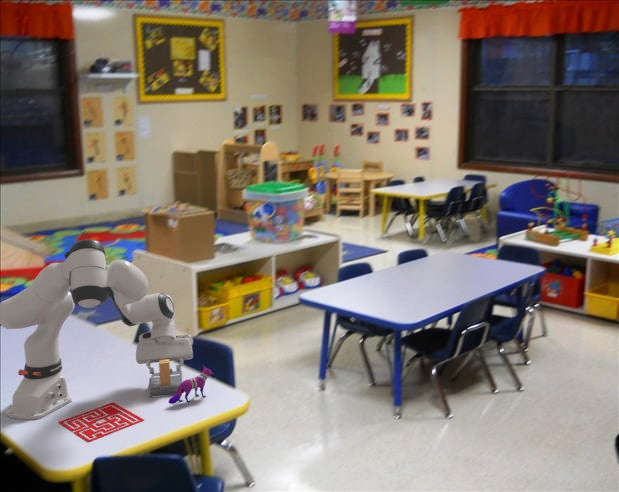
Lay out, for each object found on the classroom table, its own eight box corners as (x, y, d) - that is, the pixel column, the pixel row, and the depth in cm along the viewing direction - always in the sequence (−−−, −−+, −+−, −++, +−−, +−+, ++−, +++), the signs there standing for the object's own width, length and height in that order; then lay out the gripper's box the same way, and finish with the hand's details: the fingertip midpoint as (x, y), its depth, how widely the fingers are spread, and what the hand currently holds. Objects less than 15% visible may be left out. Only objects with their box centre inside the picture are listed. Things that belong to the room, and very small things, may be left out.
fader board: (181, 393, 256) (181, 386, 256) (150, 397, 255) (149, 389, 254) (182, 374, 274) (181, 366, 273) (152, 377, 272) (151, 369, 271)
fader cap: (170, 386, 258) (168, 362, 256) (160, 387, 258) (158, 363, 256) (171, 382, 262) (169, 358, 260) (161, 383, 261) (159, 359, 259)
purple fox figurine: (216, 393, 256) (215, 366, 254) (171, 409, 245) (169, 380, 242) (211, 390, 259) (209, 363, 256) (166, 405, 247) (164, 377, 245)
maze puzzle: (58, 423, 237) (58, 421, 237) (113, 403, 251) (113, 402, 251) (88, 443, 223) (88, 441, 223) (144, 421, 237) (144, 419, 237)
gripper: (192, 338, 270) (195, 372, 263) (136, 343, 267) (137, 378, 260) (192, 330, 265) (194, 365, 258) (134, 335, 262) (135, 371, 255)
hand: (165, 372), depth 259 cm, fingers open, 8 cm apart
